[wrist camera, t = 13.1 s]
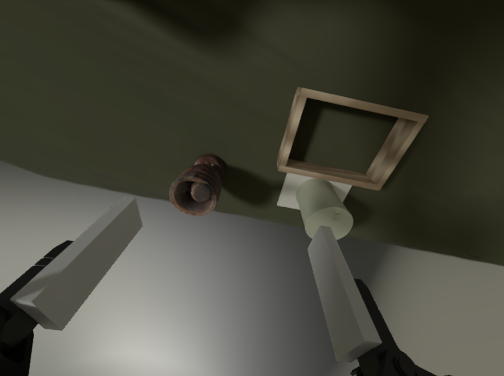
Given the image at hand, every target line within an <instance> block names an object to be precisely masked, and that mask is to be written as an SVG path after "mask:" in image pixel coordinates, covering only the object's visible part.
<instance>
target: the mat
mask: <svg viewBox="0 0 504 376" xmlns="http://www.w3.org/2000/svg"><path fill="white" fill-rule="evenodd" d="M309 179H313V178H312V177H307V176H302V175H297V174H292V173H287V175H286V178H285V181H284V184H283V187H282V190H281V193H280V197H279V200H278V203H277V205H278V206H283V207H289V208H294V209H300V207H299V204H298V202H297V199H296V192H297V189H298V188H299V186H300V185H301V184H302V183H304V182H305V181H307V180H309ZM327 181H328V180H327ZM329 182H330V183H331V184H332V186H333V188H334V190H335V192H336V193H337V195H338V197H339V198H340V200H341V201H342V203H343V201H344V199H345V197H346V196H347V194H348V192H349V190H350V188H351V187H352V185H348V184H343V183H338V182H333V181H329Z"/></svg>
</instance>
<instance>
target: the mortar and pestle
mask: <svg viewBox="0 0 504 376" xmlns="http://www.w3.org/2000/svg"><path fill="white" fill-rule="evenodd" d="M225 171H226V168H225V165H224V163H223V162H222V161H221V159H220V158H218V157H217V156H215V155H213V154H205V155H202V156H200V157H199V158H198V159H197V160H196V162H195V165H193V166H191V167H189V168H188V169H186V170H185V171H184V172H183V173H182V174H181V175H180V176H179V177H178V178H177V179H176V180H175V181H174V182H173V183H172V185H171V187H170V192H169V193H170V194H169V195H170V201H171V202H172V204H174V205H175V207H176V208H178V209H179V210H180V211H182V212H184V213H186V214H191V215H199V216H201V215H205V214H208V213H210V212H211V211H213V210H214V208H215V206H216V204H217V202H218V199H219V196H220V192H221V179H222V178H223V176H224V175H225Z"/></svg>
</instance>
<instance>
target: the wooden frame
mask: <svg viewBox="0 0 504 376" xmlns="http://www.w3.org/2000/svg"><path fill="white" fill-rule="evenodd" d="M307 98H312V99H316V100H321V101H326V102H330V103H335V104H340V105H344V106H349V107H353V108H358V109H363V110H367V111H372V112H376V113H381V114H386V115H390V116H395V117H399V118H398V120H397V121H396V123H395V125H394V127H393V128H392V130H391V132H390V133H389V135H388V137H387V139H386V140H385V142H384V144H383V145H382V147H381V149H380V151H379V152H378V154H377V156H376V157H375V159H374V161H373V163H372V164H371V166H370V168H369V169H368V171H367V173H366V174H362V173H357V172H352V171H347V170H342V169H337V168H332V167H327V166H322V165H317V164H312V163H307V162H302V161H297V160H292V159H288V157H289V154H290V150H291V147H292V144H293V141H294V138H295V134H296V131H297V128H298V125H299V121H300V118H301V115H302V112H303V109H304V105H305V102H306V99H307ZM428 117H429V116H428V115H424V114H419V113H415V112H410V111H405V110H401V109H396V108H392V107H387V106H383V105H378V104H374V103H369V102H364V101H360V100H355V99H351V98H346V97H342V96H337V95H333V94H328V93H323V92H319V91H314V90H310V89H305V88H300V87H297V90H296V94H295V98H294V101H293V105H292V108H291V112H290V116H289V119H288V123H287V126H286V130H285V133H284V137H283V141H282V144H281V148H280V151H279V155H278V159H277V167H278V171H282V172H287V173H292V174H297V175H302V176H307V177H312V178H318V179H323V180H328V181H333V182H338V183H343V184H348V185H353V186H359V187H364V188H369V189H374V190H379V191H380V189H381V188H382V186H383V185H384V183H385V182H386V180H387V179H388V177H389V176H390V174H391V173H392V171H393V170H394V168H395V167H396V165H397V164H398V162H399V161H400V159H401V158H402V156H403V155H404V153H405V152H406V150H407V149H408V147H409V146H410V144H411V143H412V141H413V140H414V138H415V137H416V135H417V134H418V132H419V131H420V129H421V128H422V126H423V125H424V123H425V122H426V120H427V119H428Z"/></svg>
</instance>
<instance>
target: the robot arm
mask: <svg viewBox="0 0 504 376" xmlns="http://www.w3.org/2000/svg"><path fill="white" fill-rule="evenodd" d="M141 227H142V222H141V218H140V214H139V210H138V206H137V202H136V198H135V197H128V196H123V197H122V198H121V199H120V200H119V201H118V202H117V203H116V204H115V205H114V206H113V207H111V208H110V209H109V210H108V211H107V212H106V213H105V214H104V215H103V216H101V217H100V218H99V219H98V220H97V221H96V222H95V223H94V224H93V225H92V226H90V227H89V228H88V229H87V230H86V231H85V232H84V233H83V234H82V235H80V236H79V237H78V238H77V239H76V240H75V241H68V240H67V241H65V242H64V243H62V244H60V245H58V246H56V247H55V248H53V249H52V250H51V251H50V252H49V253H48V254H46V255H45V256H44V258H43V259H41V260H39V261H38V262H37V263H36V264H35V266H32V267H31V268H30V269H29V270H28V271H26V272H25V273H24V274H23V275H22V276H20V277H19V278H18V279H17V280H16V281H15V282H13V283H12V284H11V285H10V286H9V287H7V288H6V289H5V290H4V291H3V292H2V293H0V376H28V375H29V368H30V360H31V352H32V345H33V338H34V334H33V329H34V328H35V327H36V325H37V324H40V325H41V326H42V327H43V328H45V329H53V330H63V329H64V327H65V326H66V325H67V323H68V322H69V321H70V320H71V318H72V317H73V316H74V314H75V313H76V312H77V311H78V309H79V308H80V307H81V305H82V304H83V303H84V301H85V300H86V299H87V298H88V296H89V295H90V294H91V292H92V291H93V290H94V288H95V287H96V286H97V284H98V283H99V282H100V280H101V279H102V278H103V277H104V275H105V274H106V273H107V272H108V270H109V269H110V268H111V266H112V265H113V264H114V262H115V261H116V260H117V258H118V257H119V256H120V255H121V253H122V252H123V251H124V249H125V248H126V247H127V246H128V244H129V243H130V242H131V240H132V239H133V238H134V236H135V235H136V234H137V233H138V231H139V230H140V229H141ZM308 253H309V257H310V261H311V265H312V268H313V272H314V276H315V280H316V284H317V287H318V291H319V294H320V299H321V302H322V306H323V310H324V314H325V318H326V321H327V325H328V329H329V333H330V337H331V341H332V344H333V348H334V352H335V356H336V359H337V361H345V362H352V361H354V360H356V359H358V362H359V365H360V366H359V367H357V368H355V369H354V370H352V372H351V375H352V376H353V375H355V374H356V376H436V375H434V374H432V373H430V372H428V371H426V370H424V369H422V368H420V367H418V366H417V365H415V364H414V362H413V361H412V360H411V359H410V358H409V357H408V356H407V355H406V354H405V353H404V352H402V351H400V349H399V348H398V346H397V345H396V343H395V341H394V339H393V337H392V335H391V333H390V331H389V329H388V327H387V325H386V323H385V321H384V319H383V317H382V315H381V313H380V311H379V310H378V307H377V305H376V303H375V301H374V300H373V297H372V295H371V293H370V291H369V289H368V288H367V286H366V285H365V284H364V283H363V281H362V280H360V279H353V277H352V275H351V272H350V270H349V268H348V266H347V263H346V261H345V259H344V257H343V255H342V252H341V250H340V248H339V245H338V243H337V241H336V239H335V237H334V234H333V232H332V230H331V228H330V227H328V226H321V225H320V226H319V228H318V230H317V232H316V234H315V236H314V238H313V240H312V242H311V244H310V246H309V248H308ZM446 376H451V375H446Z"/></svg>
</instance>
